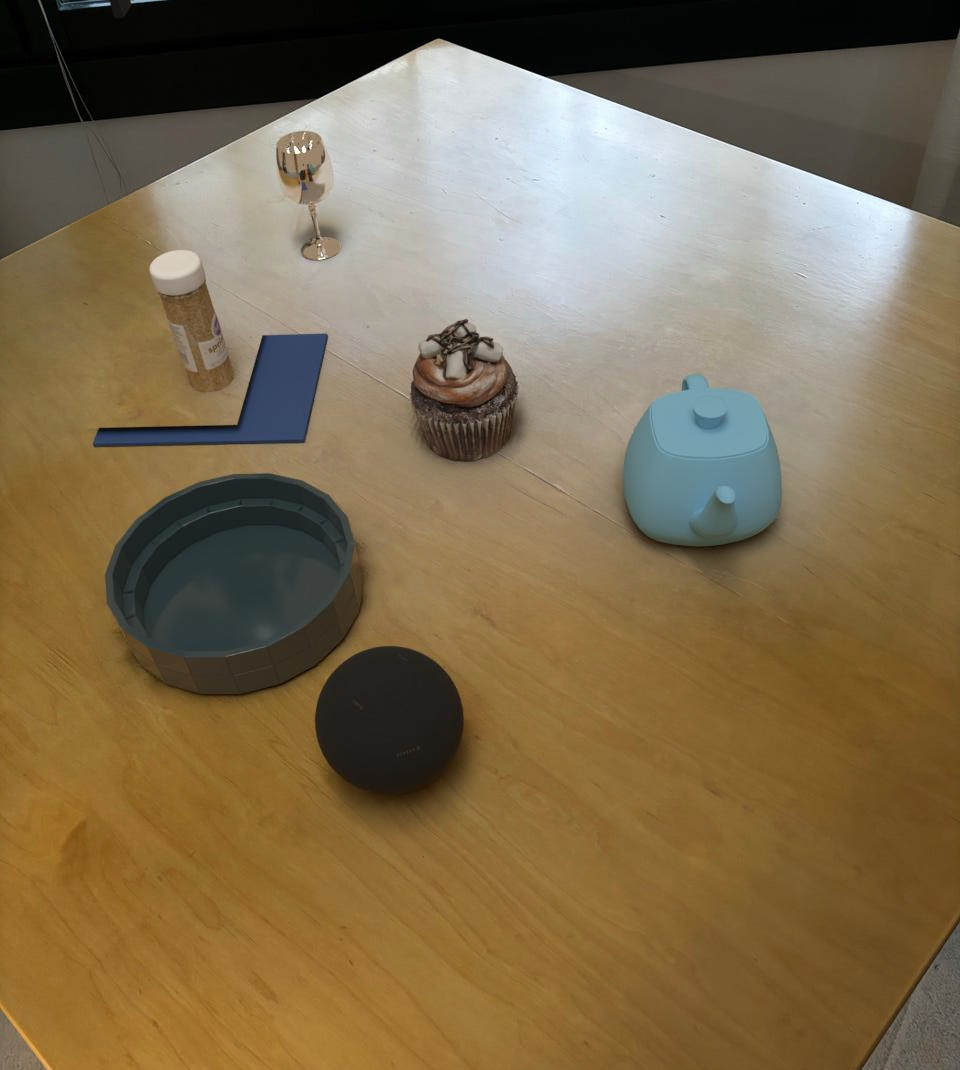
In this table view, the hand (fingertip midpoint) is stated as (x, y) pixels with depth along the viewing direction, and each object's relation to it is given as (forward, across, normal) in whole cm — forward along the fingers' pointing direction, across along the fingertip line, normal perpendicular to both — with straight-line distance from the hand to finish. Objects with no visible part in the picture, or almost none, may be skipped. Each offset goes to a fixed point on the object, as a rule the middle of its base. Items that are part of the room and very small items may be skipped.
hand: (45, 16), depth 91 cm
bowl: (+29, +18, -41) cm, 53 cm away
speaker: (+29, +32, -56) cm, 71 cm away
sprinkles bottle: (+28, +10, -14) cm, 33 cm away
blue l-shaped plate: (+29, +10, -14) cm, 33 cm away
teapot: (+29, +55, -32) cm, 70 cm away
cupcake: (+29, +35, -21) cm, 50 cm away
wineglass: (+29, +17, +10) cm, 35 cm away
